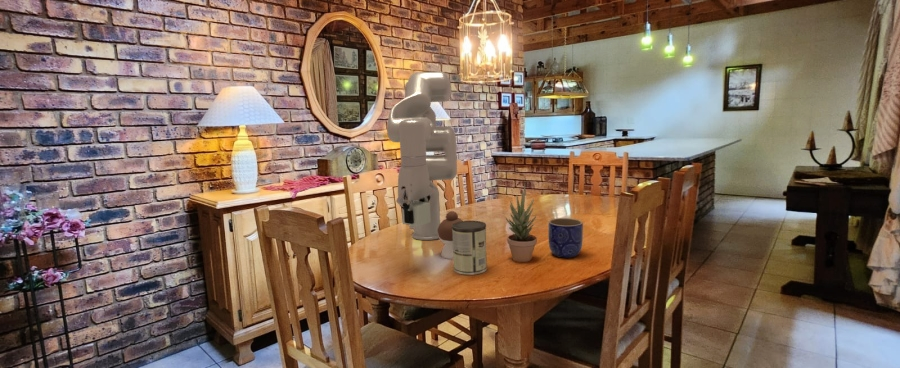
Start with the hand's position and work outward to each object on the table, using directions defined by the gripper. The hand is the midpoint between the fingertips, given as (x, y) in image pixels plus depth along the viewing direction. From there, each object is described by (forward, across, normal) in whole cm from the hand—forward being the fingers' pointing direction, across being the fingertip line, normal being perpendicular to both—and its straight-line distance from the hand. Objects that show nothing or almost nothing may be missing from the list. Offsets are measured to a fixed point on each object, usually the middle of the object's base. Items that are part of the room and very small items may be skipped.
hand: (416, 219), depth 137 cm
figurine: (+16, -17, +1) cm, 23 cm away
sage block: (+1, 0, 0) cm, 1 cm away
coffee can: (+16, -8, +14) cm, 22 cm away
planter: (+16, -36, +33) cm, 51 cm away
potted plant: (+16, -25, +23) cm, 37 cm away
